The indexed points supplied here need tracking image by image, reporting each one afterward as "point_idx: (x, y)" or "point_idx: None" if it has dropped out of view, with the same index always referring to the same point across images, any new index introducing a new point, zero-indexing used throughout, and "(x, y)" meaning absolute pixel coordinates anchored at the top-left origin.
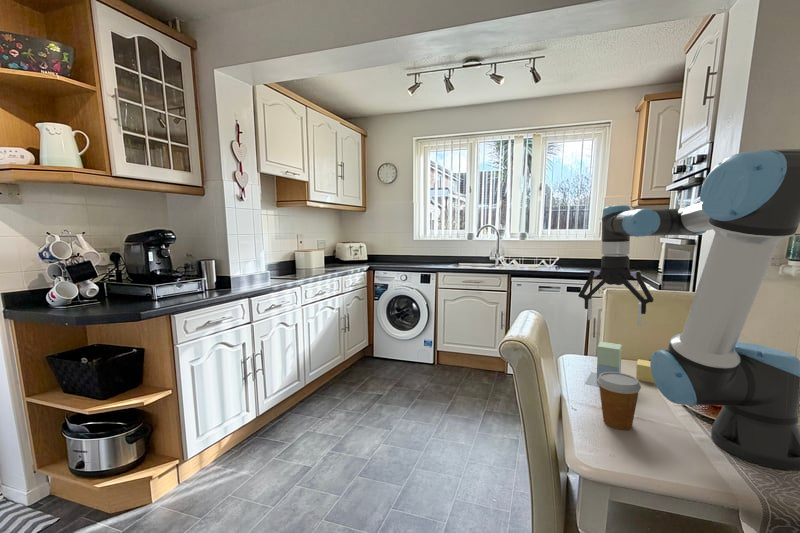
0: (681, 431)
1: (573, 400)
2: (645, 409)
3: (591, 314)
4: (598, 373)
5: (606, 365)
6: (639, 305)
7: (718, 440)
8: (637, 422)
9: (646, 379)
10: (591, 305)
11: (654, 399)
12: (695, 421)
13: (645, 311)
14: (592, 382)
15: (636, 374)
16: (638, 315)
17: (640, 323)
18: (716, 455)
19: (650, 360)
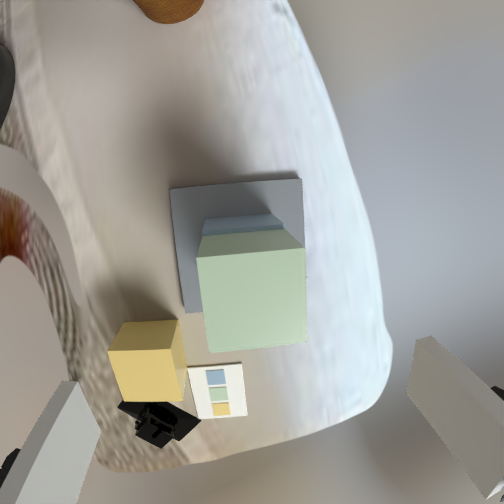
0: (55, 62)
1: (297, 54)
2: (120, 120)
3: (425, 400)
4: (272, 218)
5: (249, 232)
6: (7, 502)
7: (5, 52)
8: (133, 33)
9: (149, 327)
10: (469, 445)
11: (111, 210)
12: (31, 138)
13: (5, 464)
14: (283, 207)
15: (175, 330)
16: (46, 431)
17: (59, 388)
18: (21, 23)
19: (168, 435)
